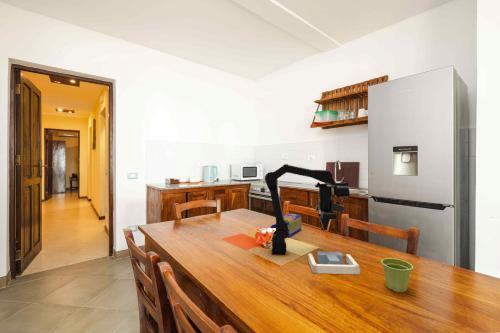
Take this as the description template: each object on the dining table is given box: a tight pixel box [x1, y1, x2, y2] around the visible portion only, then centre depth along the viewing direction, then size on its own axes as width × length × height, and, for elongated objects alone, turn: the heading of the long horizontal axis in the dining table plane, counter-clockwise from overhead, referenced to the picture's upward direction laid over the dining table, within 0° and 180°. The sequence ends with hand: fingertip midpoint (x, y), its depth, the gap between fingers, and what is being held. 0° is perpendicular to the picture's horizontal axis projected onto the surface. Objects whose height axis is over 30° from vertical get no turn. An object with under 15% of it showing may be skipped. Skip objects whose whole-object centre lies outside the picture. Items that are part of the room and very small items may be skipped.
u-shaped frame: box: [307, 253, 361, 275], centre depth 102 cm, size 18×12×3 cm
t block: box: [316, 250, 344, 265], centre depth 103 cm, size 10×10×4 cm
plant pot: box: [381, 257, 414, 293], centre depth 84 cm, size 9×9×9 cm
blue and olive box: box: [270, 213, 303, 238], centre depth 148 cm, size 10×25×10 cm, turn 145°
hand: (325, 229), depth 114 cm, fingers closed
